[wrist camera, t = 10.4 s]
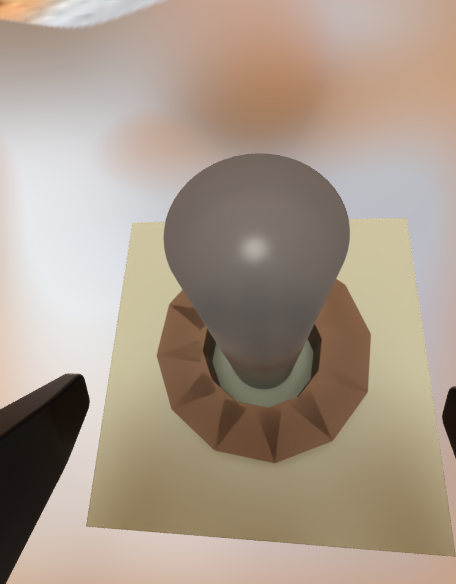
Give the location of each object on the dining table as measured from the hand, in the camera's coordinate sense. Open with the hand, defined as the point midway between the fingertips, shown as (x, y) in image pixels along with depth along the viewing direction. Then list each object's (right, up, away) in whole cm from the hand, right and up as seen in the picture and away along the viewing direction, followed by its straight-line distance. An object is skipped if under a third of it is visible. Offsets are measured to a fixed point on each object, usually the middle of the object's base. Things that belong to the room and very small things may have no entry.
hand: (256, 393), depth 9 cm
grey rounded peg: (+1, -1, +9) cm, 9 cm away
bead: (+1, -1, +9) cm, 9 cm away
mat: (+1, -1, +10) cm, 10 cm away
